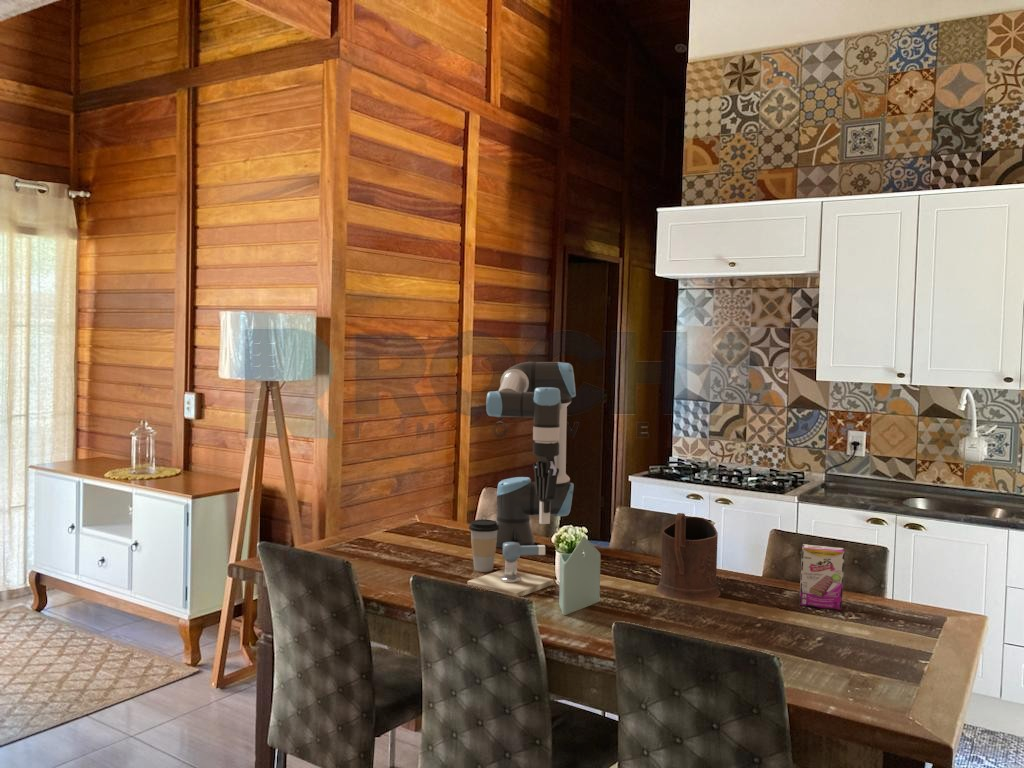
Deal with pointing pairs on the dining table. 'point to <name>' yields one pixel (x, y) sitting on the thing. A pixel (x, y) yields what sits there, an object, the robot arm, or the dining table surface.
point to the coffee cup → (483, 543)
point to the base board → (521, 588)
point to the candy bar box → (822, 576)
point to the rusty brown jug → (689, 559)
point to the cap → (521, 550)
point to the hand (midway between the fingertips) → (544, 523)
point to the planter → (579, 578)
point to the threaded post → (510, 572)
